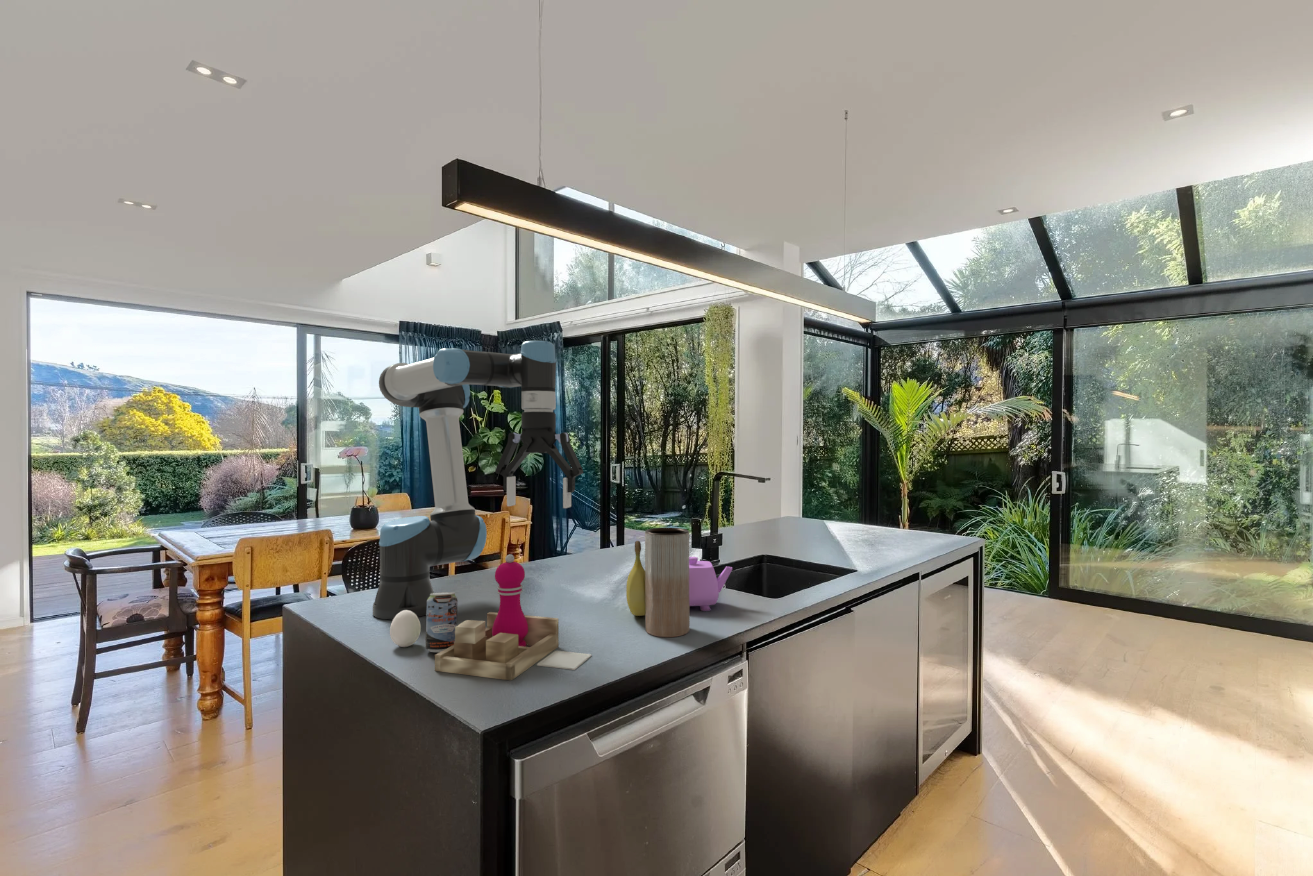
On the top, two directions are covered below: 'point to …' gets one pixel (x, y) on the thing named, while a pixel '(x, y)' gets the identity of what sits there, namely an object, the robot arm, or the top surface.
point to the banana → (636, 585)
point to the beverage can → (441, 621)
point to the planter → (667, 582)
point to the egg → (405, 628)
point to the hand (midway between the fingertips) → (538, 506)
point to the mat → (564, 660)
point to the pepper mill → (510, 600)
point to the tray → (538, 637)
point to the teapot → (705, 583)
